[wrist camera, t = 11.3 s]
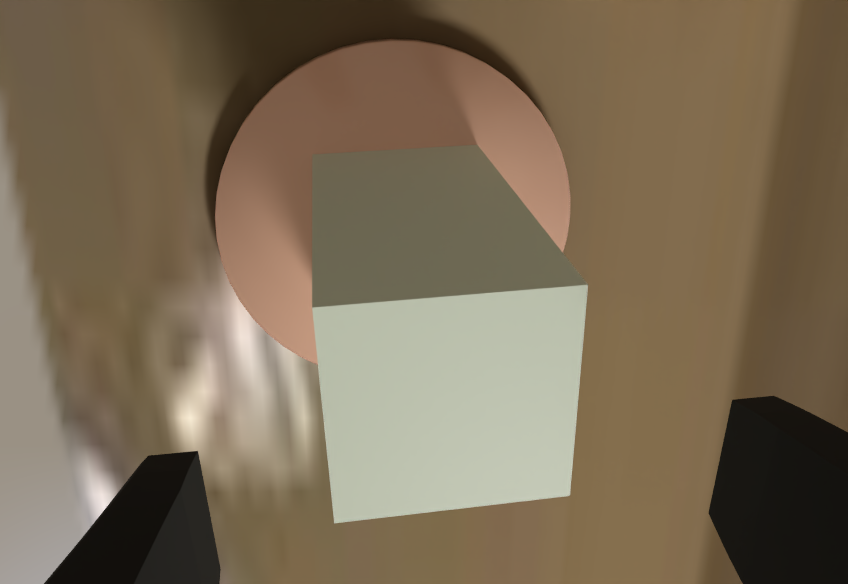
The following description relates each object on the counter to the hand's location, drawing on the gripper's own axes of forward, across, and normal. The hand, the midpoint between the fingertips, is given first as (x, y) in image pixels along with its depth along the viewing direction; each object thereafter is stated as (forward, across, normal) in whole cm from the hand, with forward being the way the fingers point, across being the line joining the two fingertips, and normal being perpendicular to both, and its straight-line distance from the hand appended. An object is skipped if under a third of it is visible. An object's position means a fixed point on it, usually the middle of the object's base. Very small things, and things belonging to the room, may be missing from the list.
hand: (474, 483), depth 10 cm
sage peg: (+10, 0, 0) cm, 10 cm away
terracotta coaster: (+10, 0, 0) cm, 10 cm away
